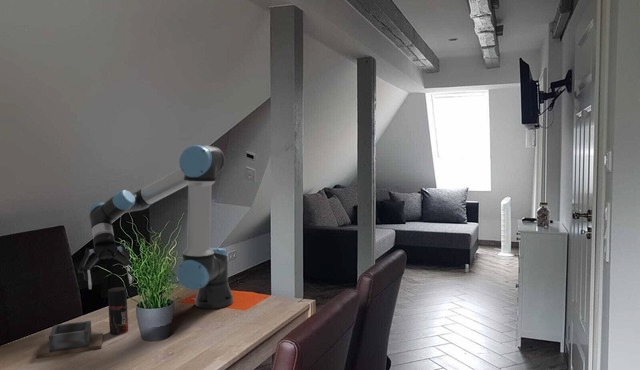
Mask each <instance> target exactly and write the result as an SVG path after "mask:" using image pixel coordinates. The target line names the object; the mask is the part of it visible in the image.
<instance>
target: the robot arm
mask: <svg viewBox="0 0 640 370" xmlns="http://www.w3.org/2000/svg"><path fill="white" fill-rule="evenodd" d="M225 165H226V157H225V154H224V152H223V151H222V150H221V148H219V147H217V146H214V145H205V144H204V145H203V144H195V145H190V146H188V147H187V148H185V149H184V150H183V151H182V153H181V154H180V156H179V168H177V169H175V170H174V171H172V172H170V173H168V174H167V175H165V176H163V177H161V178H159V179H158V180H155V181H154V182H151V183H150V184H148V185H146V186H144V187H143V188H140V189H138V190H137V191H134V192H131V191H129V190H127V189H121V190H119V191H118V192H117V193H115V194H114V195H113V196H112V197H110V198H109V199H108V200H107V201H105V202H100V201H99V202H97V203H93V204H92V205H91V206H90V207H89V210H88V212H89V220H90V221H89V222H90V227H91V233H92V241H93V247H94V248H91V249H90V248H89V247H86V248H85V253H84V255H83V258H82V259H81V261H80V262H79V265H78V266H77V274H83V280H84V281H86V282H88V283H87V284H88V285H87V286H88V290H92V285H93V283H92V277H91V276H92V275H91V269H92V268H93V267H94V266H95V265H96V264H97V263H98V262H99V260H100V259H101V260H106V259H109V260H110V259H114V260H117V261H118V262H119V263H121V264H122V265H124V266H126V273H127V278H128V283H129V284H132V283H133V275H132V276H131V275H130V274H129V273H128V271H130V268H129V267H127V266H130V265H131V263H130V262H129V260H128V259H129V252H130V251H129V250H128V249H127V250H128V251H127V250H125V248H124V246H123V245H122V244H121V245H119V246H117V245H116V240H115V239H116V238H115V234H114V228H113V221H115V220H117V219H118V218H119V217H120V216H122V215H123V214H126V213H133V212H138V211H144V210H146V209H148V208H149V207H150V206H151V205H153V204H154V203H156V202H158V201H160V200H162V199H164V198H166V197H167V196H169V195H172V194H174V193H176V192H177V191H179V190H181V189H183V188H185V187H188V189H187V229H186V231H187V235H186V244H187V245H186V249H185V250H183V251H182V262H181V263H180V264H179V265H178V267H177V271H176V276H177V278H178V277H179V279H178V282H179V283H180V284H181V285H182V286H183V287H184V288H186V289H188V290H191V291H192V290H194V291H195V290H197V293H196V296H195V302H194V303H195V307H196V308H198V309H206V310H212V309H220V308H225V307H228V306H230V305H232V304H233V303H234V297H233V293H232V290H231V288H230V285H229V272H228V271H229V269H228V264H229V263H228V257H229V256H228V251H227V249H226V248H223V247H211V230H212V229H211V224H212V222H211V221H212V188H213V187H212V186H213V185H214V184H215V183H216V181H217V174H220V172H221V171H222V170H223V169H224V168H225ZM119 252H120V253H122V254H123V255H122V254H120V253H119ZM92 254H94V256H93V257H92V258H91V260H90V261H89V262H88V263H87V261H88V259H89V257H90V256H91V255H92Z"/></svg>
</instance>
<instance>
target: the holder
mask: <svg viewBox="0 0 640 370" xmlns="http://www.w3.org/2000/svg"><path fill="white" fill-rule="evenodd" d="M103 338H104V332H101V333H100V332H99V333H95V334H92V320H86V321H77V322H68V323H62V324H61V323H60V324H54V325H53V327H52V328H51V330H50V333H49V335H48V340H44V341H42V342H41V345H40V347H39V349H38V350H37V353H36V355H35V356H36V359H40V358H46V357H52V356H59V355H66V354H72V353H73V354H74V353H80V352H85V351H86V352H87V351H92V350H100V349H102V345H103V340H104V339H103Z"/></svg>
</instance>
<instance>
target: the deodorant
mask: <svg viewBox="0 0 640 370" xmlns="http://www.w3.org/2000/svg"><path fill="white" fill-rule="evenodd" d="M127 292H128V291H127V287H125V286H118V287H112V288H109V289H107V301H108V302H107V303H108V319H109V320H108V321H109V334H110V335H112V336H119V335H124V334H126V333H128V332H129V317H128V315H129V314H128V296H127Z"/></svg>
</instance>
